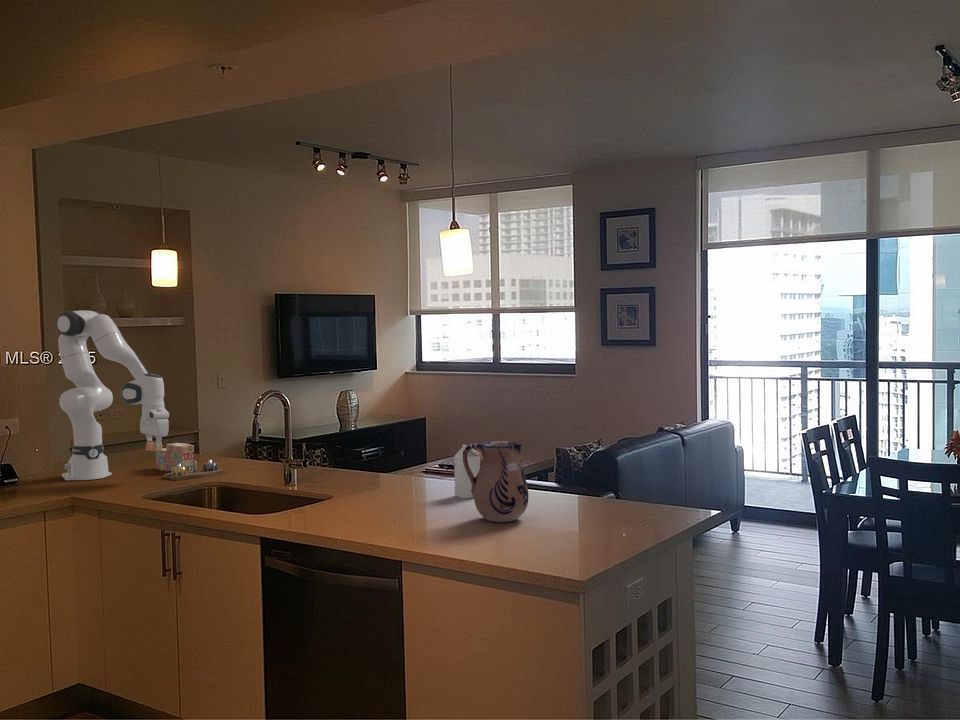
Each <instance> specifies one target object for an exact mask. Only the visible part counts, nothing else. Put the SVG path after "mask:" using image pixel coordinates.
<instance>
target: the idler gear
mask: <svg viewBox="0 0 960 720" xmlns="http://www.w3.org/2000/svg"><path fill="white" fill-rule="evenodd" d="M155 442H156V441H153V442H149V443H147V442H145V450H146V451H147V452H149V451H150V452H155V451H158V450H162V448H163V442H162V441H161V446H160V447H156V446H155Z"/></svg>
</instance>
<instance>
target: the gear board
mask: <svg viewBox="0 0 960 720" xmlns="http://www.w3.org/2000/svg"><path fill="white" fill-rule="evenodd" d="M222 473H225V474H226V470H223V469H219V468H218V470H215V471H203V468H199V469H198V466H197V460H195V459H194V461H193V470H190V471H187V474H184V475H172V472H168V473H164V475H163V478H167V479H169V480H173V481H183V480H191V479H199V477H200V478H206V477H205V476H207V477H212V476H211V475H215V476H218V475H217V474H222ZM222 475H223V474H222Z"/></svg>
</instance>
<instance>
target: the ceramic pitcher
mask: <svg viewBox="0 0 960 720" xmlns="http://www.w3.org/2000/svg"><path fill="white" fill-rule="evenodd" d="M472 449H474V450H477V451H479V452H480V454H481V456H482V460H481V461H482V462H481V463H480V469H479V472H478V474H477V476H476V477H474V475H473V473H472V471H471V469H470V467H469V464H468V460H467V454H468V452H469V451H470V450H472ZM521 450H522V443H519V442H511V441H509V440H498V441H496V440H495V441H485V442H480V443H478V442H477V443H469V444H468V445H467V446H466V448H465V449H464V451H463V464H464V467H465V469H466V472H467V474H468V477H469V479H470V481H471V485H472V487H471V493H472V495H473V497H474V498H473V501H474V505H475V507H476V510H477V512H478V513H479V515H481V517H482V518H484V519H485V520H486V521H489V522H493V523H509V522H514V521H516V520H518V519H519V518H520V517H521V516H522V515H523V514H524V513H525V512H526V510H527V508H528V505H529V496H530V495H529V489H528V484H527V478H526V475H525V470H524V468H523V464H522V459H521V458H522V456H521Z"/></svg>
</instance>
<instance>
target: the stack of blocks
mask: <svg viewBox="0 0 960 720" xmlns="http://www.w3.org/2000/svg"><path fill="white" fill-rule="evenodd" d="M165 445H166V446H165V447H164V448H163V447H162V450H158V451H154V456H155V469H156V470H159V471H163V470H164V472H169V471H171V472H170V473H172V468H171V467H175V466H177V464H179V463H181V466H187V471H190V470H193V461H194V460H195V445H194V444H190V443H184V442H183V443H181V442H174V443H166V444H165Z"/></svg>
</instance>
